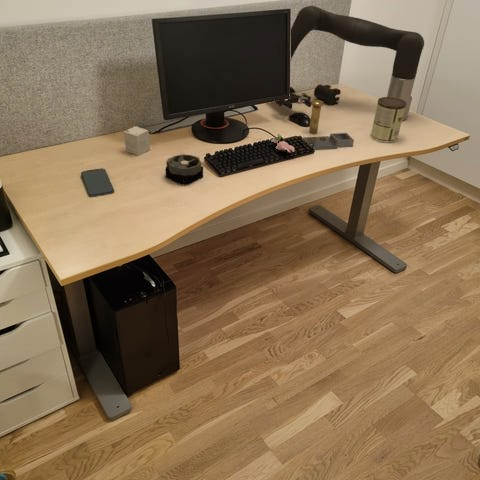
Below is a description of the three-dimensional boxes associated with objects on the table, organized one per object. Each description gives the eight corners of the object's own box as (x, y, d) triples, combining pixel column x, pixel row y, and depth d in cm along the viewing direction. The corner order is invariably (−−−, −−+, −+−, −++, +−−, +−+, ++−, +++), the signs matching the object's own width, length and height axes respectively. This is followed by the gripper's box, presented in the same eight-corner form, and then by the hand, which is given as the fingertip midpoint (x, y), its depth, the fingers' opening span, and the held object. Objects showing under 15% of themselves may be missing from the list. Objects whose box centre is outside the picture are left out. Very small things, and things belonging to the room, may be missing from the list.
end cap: (312, 100, 211) (314, 85, 207) (323, 97, 214) (326, 82, 210) (328, 106, 204) (330, 91, 200) (339, 104, 208) (342, 89, 204)
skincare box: (150, 150, 161) (149, 130, 156) (138, 156, 157) (136, 135, 152) (137, 145, 163) (136, 125, 159) (125, 151, 159) (123, 131, 155)
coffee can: (373, 130, 184) (380, 95, 176) (399, 135, 180) (408, 99, 172) (367, 139, 176) (375, 103, 168) (395, 145, 173) (404, 108, 165)
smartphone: (88, 195, 133) (79, 171, 143) (89, 200, 134) (80, 175, 144) (115, 191, 135) (104, 167, 146) (115, 195, 136) (105, 172, 147)
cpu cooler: (207, 160, 143) (184, 171, 137) (207, 177, 147) (184, 188, 140) (184, 150, 149) (160, 160, 142) (184, 166, 152) (161, 177, 145)
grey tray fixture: (344, 137, 176) (345, 131, 175) (354, 147, 169) (355, 141, 168) (298, 140, 173) (298, 133, 171) (305, 150, 166) (306, 143, 164)
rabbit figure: (262, 148, 169) (284, 158, 157) (262, 131, 167) (284, 141, 155) (277, 145, 172) (299, 155, 160) (277, 129, 169) (300, 138, 157)
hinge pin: (316, 129, 182) (320, 99, 175) (320, 134, 178) (325, 103, 171) (305, 130, 181) (309, 100, 174) (309, 134, 177) (313, 104, 170)
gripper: (268, 85, 191) (286, 97, 179) (298, 82, 196) (318, 94, 184) (266, 102, 196) (284, 116, 184) (296, 100, 200) (315, 113, 188)
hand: (301, 105), depth 184 cm, fingers open, 8 cm apart
